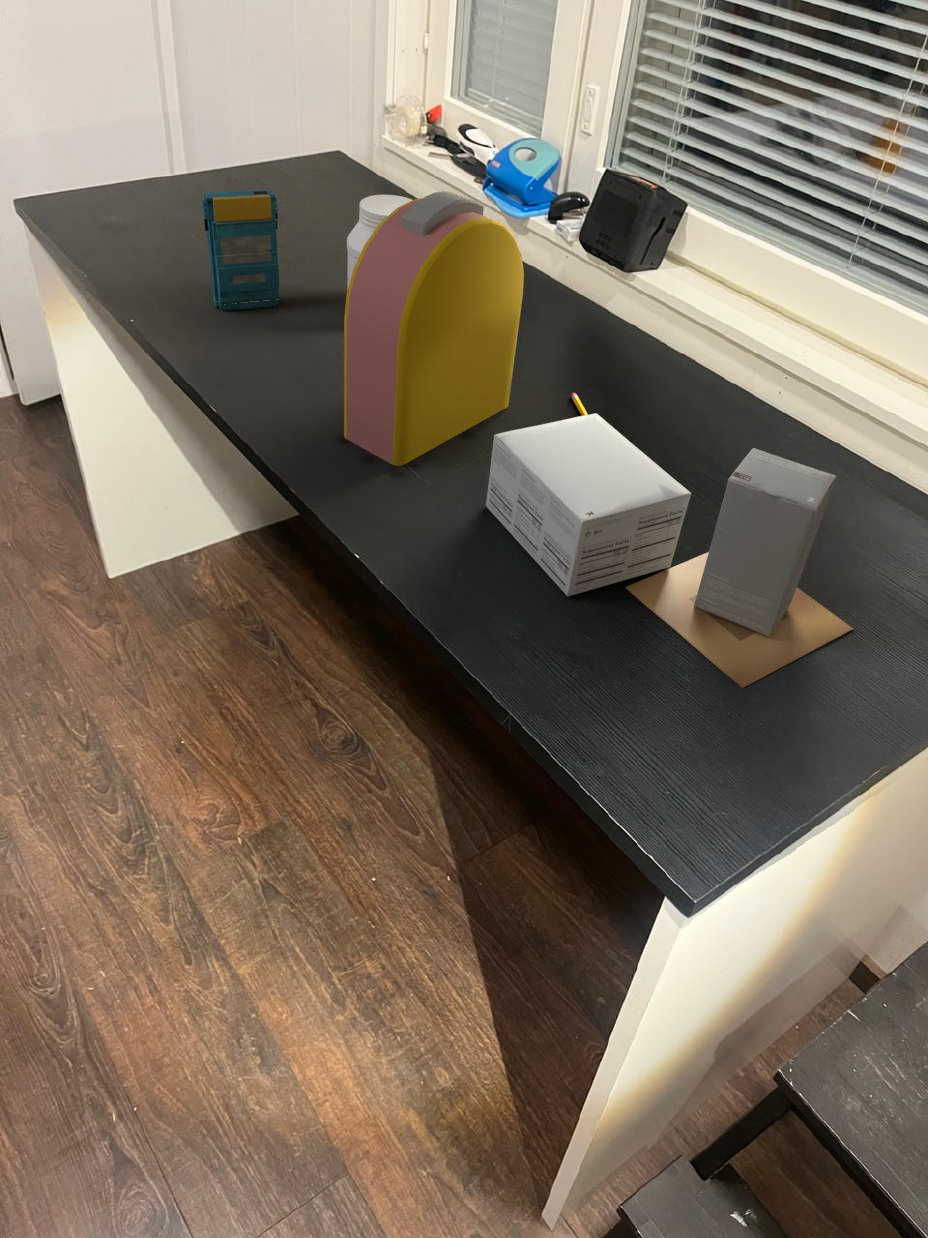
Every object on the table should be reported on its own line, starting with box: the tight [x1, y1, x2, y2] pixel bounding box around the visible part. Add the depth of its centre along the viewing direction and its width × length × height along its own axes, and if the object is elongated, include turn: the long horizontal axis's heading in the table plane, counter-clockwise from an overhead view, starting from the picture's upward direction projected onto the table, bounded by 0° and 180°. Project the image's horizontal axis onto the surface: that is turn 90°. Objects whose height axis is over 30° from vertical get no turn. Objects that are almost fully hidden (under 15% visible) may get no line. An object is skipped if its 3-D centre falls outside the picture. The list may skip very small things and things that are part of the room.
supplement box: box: [485, 413, 692, 597], centre depth 98 cm, size 17×13×9 cm
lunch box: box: [343, 190, 525, 467], centre depth 107 cm, size 21×9×26 cm, turn 140°
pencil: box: [570, 392, 589, 416], centre depth 118 cm, size 1×13×1 cm, turn 11°
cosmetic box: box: [694, 447, 837, 637], centre depth 89 cm, size 8×7×16 cm
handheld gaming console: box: [201, 189, 280, 312], centre depth 130 cm, size 10×4×15 cm, turn 113°
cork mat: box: [625, 551, 854, 689], centre depth 94 cm, size 16×16×1 cm
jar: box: [346, 194, 413, 291], centre depth 132 cm, size 12×10×15 cm
